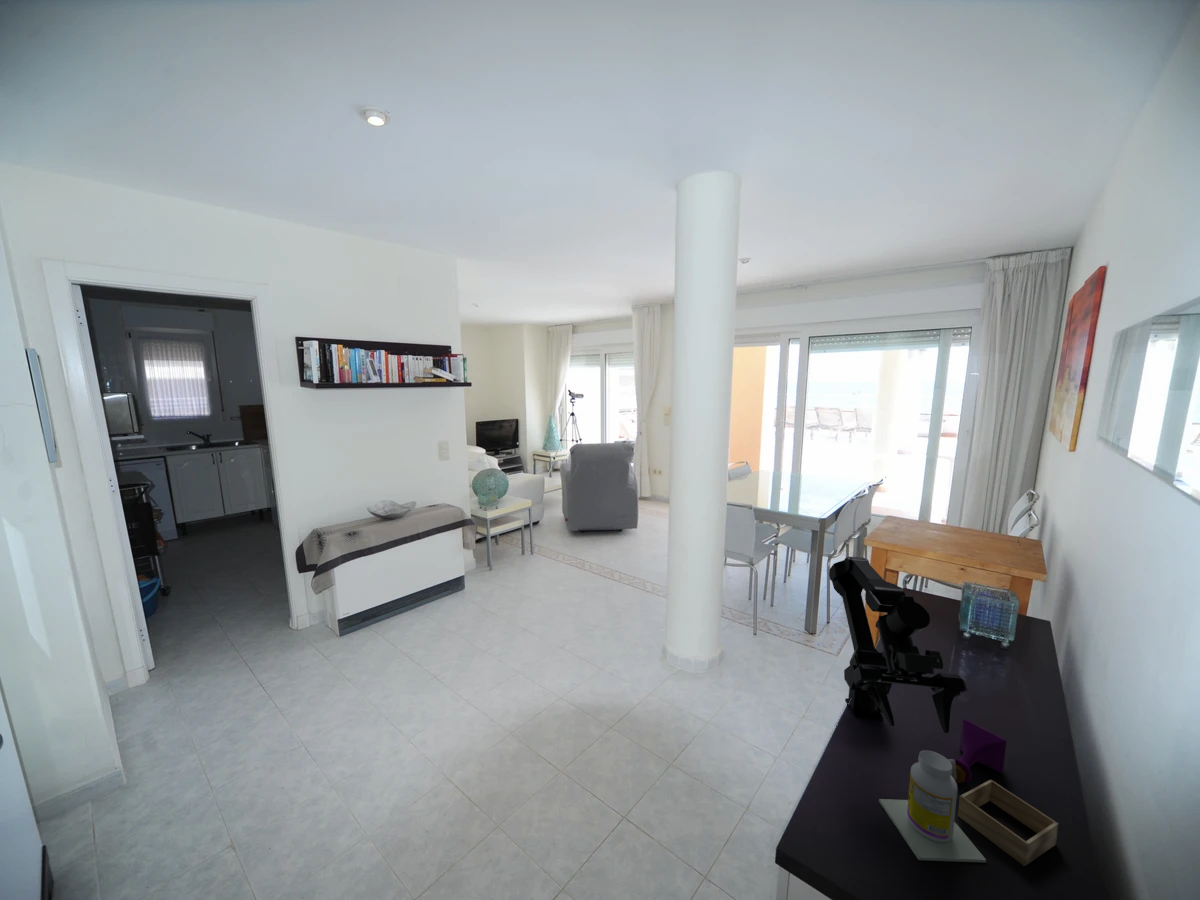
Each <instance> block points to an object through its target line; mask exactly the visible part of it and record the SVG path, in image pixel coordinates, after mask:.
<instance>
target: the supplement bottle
mask: <svg viewBox="0 0 1200 900" xmlns="http://www.w3.org/2000/svg"><path fill="white" fill-rule="evenodd" d="M951 774H952V765H951V763H950V761H949V760H948V758H946V757H945V756H944V755H942V754H940V753H938V752H936V751H934V750H929V749H928V750H927V749H925V750H924V749H923V750H921V751H920V752H919V753H918V761H916V762H915V763H913V764H912V766H911V767H910V775H909V776H910V777H909V786H908V797H907V800H908V807H907V816H908V819H909V821H910V823H911V825H912V826H913V827H914V828H915V829H916V830H917V831H918V832H919V833H921V834H922V835H924V836H925V837H927V838H929V839H931V840H934V841H937V842H947V841H949V840H951V838H952V836H953V830H954V822H955V817H956V807H957V800H958V799H957V797H958V783H957V782H955V780H954V778H953V777H952V776H951Z"/></svg>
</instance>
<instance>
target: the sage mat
mask: <svg viewBox="0 0 1200 900" xmlns="http://www.w3.org/2000/svg"><path fill="white" fill-rule="evenodd" d="M878 803H879V805H880V806H881V807H882V808H883V809H884V811H885V813H886V814H887V816H888V817H889V819H890V820H891V821H892V823H893V824H894V826H895V828H896V829H897V830H898V832H899V834H900V835H901V837H902V838H903V839H904V840H905V842H906V843H907V845H908V846H909V848H910V849H911V851H912V852H913V854H914V855H915V856H916V859H918V861H936V862H937V861H939V862H959V863H960V862H963V863H964V862H965V863H986V862H987V859H986V858H985V857H984V855H983V854H982V853H981V852H980V851H979V849H978V848H977V847H976V846H975V845H974V843H973V841H971V839H970V838H969V837H968V836H967V835H966V834H965V832H964V831H963V830H962V829H961V827H960V826H959V825H958V823H956V822H955V821H954V830H953V836H952V838H951V840H949V841H947V842H937V841H934V840H931V839H929V838H927V837H925V836H924V835H922V834H921V833H919V832H918V831H917V830H916V829H915V828H914V827H913V826H912V825H911V823H910V821H909V819H908V816H907V807H908V799H890V798H887V799H885V798H879V799H878Z"/></svg>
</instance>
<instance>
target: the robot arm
mask: <svg viewBox="0 0 1200 900" xmlns="http://www.w3.org/2000/svg"><path fill="white" fill-rule="evenodd" d="M828 574H829V575H828V577H829V579H830V581H831V583H832V586H833V589H834V591H835V592H837V594H838V595H839V596H840V597H841V598H842V602H843V606H844V611H845V615H846V620H847V624H848V628H849V629H848V630H849V634H850V637H851V638H850V639H851V642H852V647H853V648H852V649H853V653H852V655H851V658H850V660H849V666H847V667H846V668H844V670H843V675H844V681H845V683H846V684H847V686H848V698H845V699H844V700H845V701H844V702H845V703H846V704H847V705H848V703H849V701H850V699H851V698H852V699H851V701H850V704H849V706H850V708H849V710H851V712H852V713H853V715H854V717H856V718H858V719H859V718H860V719H861V718H862V719H868V720H869V719H870V720H881V721H883V720H884V719H885V720H886V721H887V722H888V724H889V726H890V727H894V726H895V720H894V719H895V718H894V715H893V712H892V708H891V703H890V701H889V698H888V697H889V694H890V691H891V688H892V685H893V684H895V685H904V686H913V687H921V688H922V687H923V688H930V689H931V690H932V692H934V694H931V697H932V701H933V704H934V708H935V710H936V714H937V717H938V720H939V723H940V726H941V728H942V730H943V733H944V734H948V733H949V732H950V722H951V721H950V720H951V709H952V705H953V704H952V703H953V701H954V698H956V697H958V696H961V694H962V693H964V692H966V691H968V688H967V684H966V681H965V680H964V678H963V677H961V676H960V675H959V674H953V673H944V672H938V673H936V674H935V670H936V669H937V670H943V668H944V662H943V661H944V660H943V658H942V655H941V652H940V651H938V650H930V649H926V650H925V651H924V653H925V654H924V653H920V650H919V648H918V646H915V644H914V640H913V637H915V636H916V635H918V634H919V633H920V632H921V631H923V630H924V629H926V628H927V627H928V626H929V625H930V622H931V616H930V613H929V612H928V611H927V609H926V608H924V606H922V605H921V604H920V603H918V602H916V601H915V599H914V596H912V595H907V593H906V592H905V591H904V589H903V588H901V587H900V586H899V585H897V584H895V583H892V582H889V581H886V580H884V579H883V577H882V576H881V575H880V574H879V573H878V572H877V571H876V570H875V569H874V567H873V566H871V564H870V561H869V559H868V558H865V557H862V556H848V557H847V556H846V557H845V558H844V560H840V561H837V562H835V563H833V564H832V565H831V567H830V568H829V571H828ZM863 590H864V591H865V594H864V598H865V599H864V600H865V603H866V605H867V606H868V607H869V609H870V611H872V612H876V613H886V614H884V615H879V616H878V619H877V620H876V622H875V628H877V629H878V633H879V637H880V641H881V644H882V649H883V650H882V651H881V652H880V651H878V650H877V649H876V647H875V643H874V639H873V635H872V631H871V627H870V624H869V619H868V615H867V612H866V607H865V603H864V600H863V596H862V593H863ZM927 674H930V675H933V676H923V675H927ZM934 674H935V675H934ZM849 706H848V707H849ZM884 717H885V718H884Z"/></svg>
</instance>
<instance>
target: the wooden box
mask: <svg viewBox="0 0 1200 900" xmlns="http://www.w3.org/2000/svg"><path fill="white" fill-rule="evenodd" d="M988 802H991V803H992V804H994V805H996V806H997V807H998V808H1000V809H1001V810H1002V811H1004V812H1006V814H1008V815H1009V816H1012V817H1013V818H1014V819H1015V820H1017V821H1019V822H1020V823H1021V824H1023V825H1024V826H1025V827H1027V828H1029V829H1030V830H1032V831H1033V832H1034V833H1036V834H1035V835H1032V837H1030V838H1029V839H1027V840H1025V839H1023V838H1022V837H1021V836H1019V835H1018V834H1016V833H1014V831H1012V830H1011V829H1009V828H1008V827H1006V826H1005V825H1003V824H1002V823H1001V822H999V821H998V820H997V819H996V818H994V817H993V816H991V815H990V814H988V813H987V812H986V811H984V810H983V809H982V808H980V807H982V806H983V805H985V804H987V803H988ZM957 816H958V818H960V819H961V820H962V821H963V822H965V823H967V824H968V825H969V826H970V827H972V828H973V829H974V830H975V831H977V832H979V833H980V834H981V835H983V836H984V837H985V838H986V839H988V840H989V841H990V842H992V843H993V844H995V846H997V847H998V848H1000V850H1002V851H1004V852H1005V853H1006V854H1007V855H1009V856H1010V857H1012V858H1013V859H1014V860H1015V861H1017V862H1018V863H1019V864H1021V865H1022V866H1023V867H1026V866H1027V865H1029V864H1030V863H1032V862H1033V861H1035V860H1036V859H1037V858H1039V857H1040V856H1042V855H1043V854H1044V853H1046V852H1048V850H1050V849H1052V848H1053V847H1054V846H1056V845H1057V839H1058V833H1059V832H1058V831H1059V823H1058V822H1057V821H1055V820H1054V819H1052V818H1051V817H1050V816H1048V815H1046V814H1045V813H1043V812H1042V811H1040V810H1038V809H1037V808H1036V807H1034V806H1032V805H1031V804H1029V803H1028V802H1026V801H1025V800H1023V799H1022V798H1020V797H1018V796H1017V795H1015V794H1014V793H1013V792H1011V791H1009V790H1008V789H1006V788H1005V787H1003V786H1002V785H1000V784H999V783H997V782H996V781H994V780H992V779H989V780H987V781H985V782H983V783H982V784H979V785H978V786H975V788H971V789H970V790H969V791H967V792H964V793H963V794H961V795H960V796H959V802H958V811H957Z"/></svg>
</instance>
